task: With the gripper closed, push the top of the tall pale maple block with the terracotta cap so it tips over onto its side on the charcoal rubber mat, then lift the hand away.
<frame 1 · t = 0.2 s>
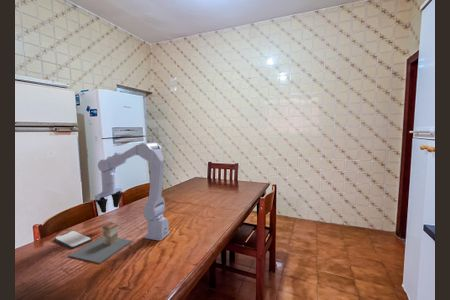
hand: (110, 209, 109), 10 cm above the table, tool pointing down, fingers open, 7 cm apart
maple block: (110, 242, 96), resting on rubber mat
phone case: (73, 241, 98), on the table
rubber mat: (102, 248, 91), on the table
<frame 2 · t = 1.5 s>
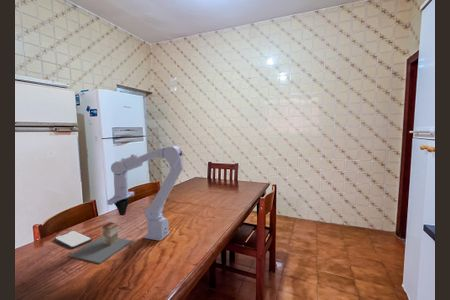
hand: (122, 214, 102), 10 cm above the table, tool pointing down, fingers closed
nothing on the table moved.
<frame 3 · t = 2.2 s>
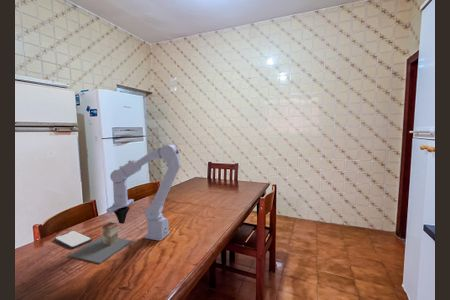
hand: (121, 222, 102), 6 cm above the table, tool pointing down, fingers closed
nothing on the table moved.
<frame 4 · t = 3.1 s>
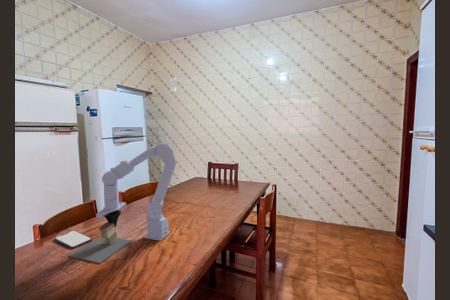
hand: (113, 227, 97), 6 cm above the table, tool pointing down, fingers closed
maple block: (110, 241, 95), point 1 cm above the table, tilted 13°, touching rubber mat
everything else where it was.
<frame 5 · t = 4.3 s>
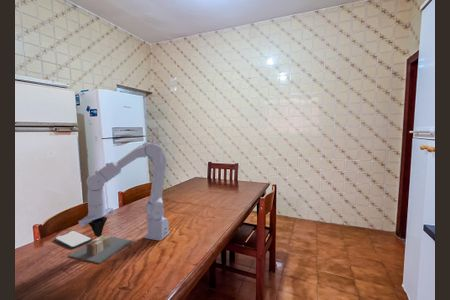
hand: (98, 235, 89), 6 cm above the table, tool pointing down, fingers closed
maple block: (106, 240, 93), point 2 cm above the table, tilted 90°, touching rubber mat
everything else where it was.
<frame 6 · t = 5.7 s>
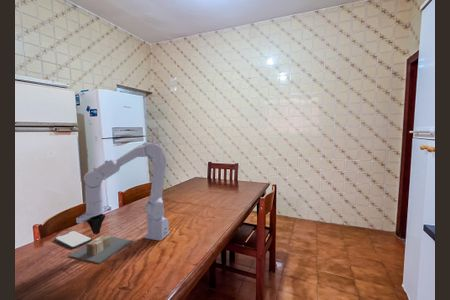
hand: (96, 233, 88), 8 cm above the table, tool pointing down, fingers closed
nothing on the table moved.
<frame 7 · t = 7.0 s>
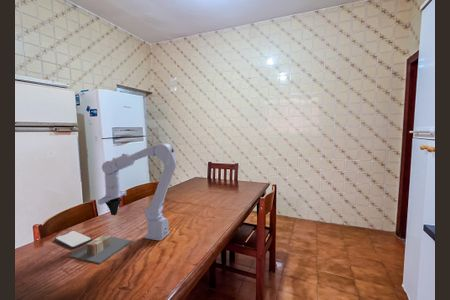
hand: (114, 214, 101), 10 cm above the table, tool pointing down, fingers closed
nothing on the table moved.
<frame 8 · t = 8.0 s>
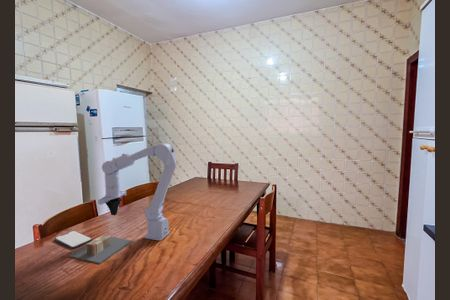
hand: (114, 214, 101), 10 cm above the table, tool pointing down, fingers closed
nothing on the table moved.
at the end: maple block tilted 90°; maple block touching rubber mat; maple block inside the target area on the rubber mat (3.0 cm from its centre), point 2.5 cm above the rubber mat's base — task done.
